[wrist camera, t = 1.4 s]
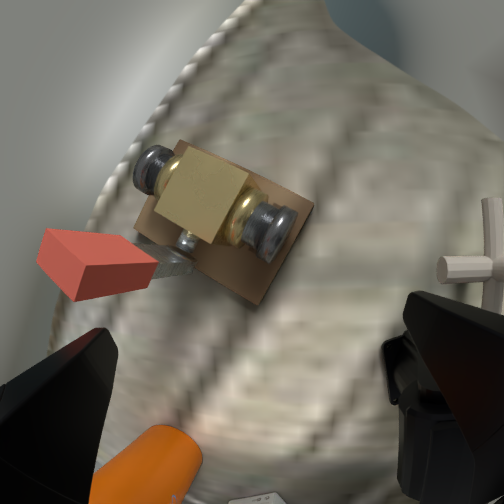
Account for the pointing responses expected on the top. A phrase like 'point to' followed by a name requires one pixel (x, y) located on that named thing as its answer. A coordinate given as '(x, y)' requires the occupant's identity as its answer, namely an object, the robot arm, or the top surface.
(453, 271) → the pipe connector
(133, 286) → the valve lever
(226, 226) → the valve stand
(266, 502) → the skincare box
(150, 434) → the shaker bottle
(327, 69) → the top surface
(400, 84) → the top surface
